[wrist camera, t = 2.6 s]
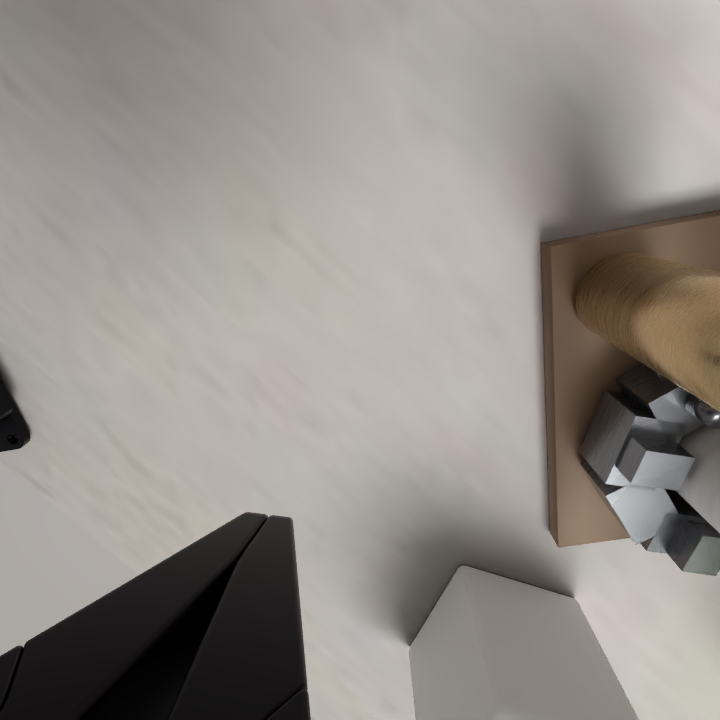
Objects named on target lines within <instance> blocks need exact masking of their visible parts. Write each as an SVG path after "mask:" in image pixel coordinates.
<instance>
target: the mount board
mask: <svg viewBox="0 0 720 720" xmlns="http://www.w3.org/2000/svg"><path fill="white" fill-rule="evenodd" d="M620 252H637V253H641V254H645V255H650V256H654V257H658V258H662V259H667V260H671V261H675V262H679V263H683V264H688V265H692V266H696V267H700V268H705V269H709V270H713V271H717V272H720V210H718V211H713V212H708V213H702V214H697V215H691V216H686V217H680V218H675V219H670V220H664V221H659V222H653V223H648V224H643V225H637V226H632V227H626V228H621V229H615V230H610V231H605V232H599V233H594V234H588V235H583V236H577V237H572V238H567V239H561V240H556V241H550V242H545V243H541V267H542V298H543V329H544V360H545V391H546V422H547V452H548V483H549V514H550V533H551V535H552V537H553V539H554V540H555V542H556V544H557V546H558V547H566V546H573V545H580V544H588V543H595V542H603V541H610V540H617V539H625V538H630V536H629V535H628V534H627V533H626V531H625V530H624V529H623V527H622V526H621V525H620V523H619V522H618V521H617V519H616V518H615V517H614V516H613V514H612V513H611V512H610V510H609V509H608V508H607V506H606V504H605V503H604V501H603V500H602V498H601V496H600V495H599V493H598V492H597V490H596V488H595V487H594V485H593V484H592V482H591V480H590V479H589V477H588V476H587V474H586V473H585V471H584V469H583V468H582V466H581V465H580V463H581V462H582V461H584V460H585V458H584V457H583V456H582V455H581V454H580V452H579V450H580V448H581V445H582V443H583V441H584V438H585V436H586V433H587V431H588V429H589V426H590V424H591V421H592V419H593V416H594V414H595V412H596V409H597V407H598V404H599V402H600V399H601V397H602V395H603V392H604V390H610V391H616V392H622V390H621V388H620V387H619V385H618V383H617V381H616V379H615V378H617V377H618V376H620V375H622V374H624V373H625V372H627V371H629V370H631V369H633V368H634V367H636V366H638V365H640V364H641V362H640V361H638V360H636V359H635V358H633V357H632V356H630V355H628V354H627V353H625V352H624V351H622V350H620V349H619V348H617V347H616V346H614V345H612V344H611V343H609V342H608V341H606V340H604V339H603V338H601V337H600V336H598V335H597V334H595V333H593V332H592V331H590V330H589V329H587V328H586V327H585V326H584V325H583V324H582V322H581V321H580V319H579V317H578V315H577V311H576V305H575V303H576V293H577V290H578V287H579V285H580V282H581V281H582V279H583V277H584V276H585V275H586V273H587V272H588V271H589V270H590V269H591V268H592V267H593V266H594V265H595V264H596V263H598V262H599V261H600V260H602V259H604V258H606V257H608V256H610V255H612V254H616V253H620ZM622 393H623V392H622ZM679 445H680V446H681V447H683V448H684V449H685V450H686V451H688V452H689V453H690V454H691V455H692V456H694V457H695V458H696V459H695V461H694V462H693V464H692V466H691V468H690V470H689V472H688V474H687V476H686V477H685V479H684V481H683V483H682V485H681V487H680V489H679V491H677V490H675V491H676V492H677V493H678V494H680V495H681V496H682V497H683V498H684V499H685V500H686V501H687V502H688V503H689V504H690V505H691V506H692V507H693V508H694V509H695V510H696V511H697V512H698V513H699V514H700V515H701V516H702V517H703V518H704V519H705V520H706V521H707V522H708V523H709V524H711V525H712V526H713V527H714V528H715V529H716V530H717V531H718V532H719V533H720V429H713V428H710V427H709V426H707V425H706V424H705V425H703V426H701V427H699V428H697V429H695V430H693V431H691V432H690V433H688V434H686V435H684V436H682V438H681V440H680V442H679Z"/></svg>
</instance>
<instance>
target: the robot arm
mask: <svg viewBox="0 0 720 720" xmlns="http://www.w3.org/2000/svg"><path fill="white" fill-rule="evenodd" d="M15 436H16V437H17V438H18V439H17V438H16V437H15ZM29 441H30V433H29V431H28V430H27V428H26V426H25V424H24V422H23V420H22V418H21V416H20V415H19V413H18V411H17V409H16V407H15V405H14V403H13V401H12V400H11V398H10V396H9V394H8V392H7V390H6V388H5V386H4V385H3V383H2V381H1V379H0V452H2V451H8V450H14V449H19V448H22V447H23V446H24V445H25V444H27V443H28V442H29ZM0 720H311V718H310V706H309V695H308V692H307V677H306V666H305V654H304V643H303V632H302V620H301V609H300V597H299V586H298V575H297V563H296V552H295V540H294V529H293V520H292V519H291V518H290V517H283V516H275V515H272V516H269V517H268V516H267V515H265V514H259V513H251V512H246V513H244V514H242V515H240V516H238V517H236V518H235V519H233V520H231V521H230V522H228V523H226V524H225V525H223V526H221V527H220V528H218V529H216V530H215V531H213V532H211V533H209V534H208V535H206V536H204V537H203V538H201V539H199V540H198V541H196V542H194V543H193V544H191V545H189V546H187V547H186V548H184V549H182V550H181V551H179V552H177V553H176V554H174V555H172V556H171V557H169V558H167V559H165V560H164V561H162V562H160V563H159V564H157V565H155V566H154V567H152V568H150V569H149V570H147V571H145V572H144V573H142V574H140V575H138V576H137V577H135V578H133V579H132V580H130V581H128V582H127V583H125V584H123V585H122V586H120V587H118V588H117V589H115V590H113V591H111V592H110V593H108V594H106V595H105V596H103V597H101V598H100V599H98V600H96V601H95V602H93V603H91V604H89V605H88V606H86V607H85V608H83V609H81V610H79V611H78V612H76V613H74V614H73V615H71V616H69V617H67V618H66V619H64V620H62V621H61V622H59V623H57V624H56V625H54V626H52V627H51V628H49V629H48V630H46V631H44V632H42V633H40V634H39V635H37V636H35V637H34V638H32V639H30V640H29V641H27V642H26V644H25V646H24V648H23V647H22V646H17V647H15V648H13V649H11V650H10V651H8V652H7V653H5V654H3V655H1V656H0Z"/></svg>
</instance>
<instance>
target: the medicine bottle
mask: <svg viewBox="0 0 720 720" xmlns="http://www.w3.org/2000/svg"><path fill="white" fill-rule="evenodd" d="M409 657H410V667H411V677H412V687H413V697H414V707H415V717H416V720H639V719H638V717H637V715H636V713H635V711H634V709H633V707H632V706H631V704H630V702H629V700H628V698H627V696H626V694H625V692H624V690H623V688H622V686H621V684H620V682H619V680H618V679H617V677H616V675H615V673H614V671H613V669H612V667H611V665H610V663H609V661H608V659H607V657H606V655H605V653H604V652H603V650H602V648H601V646H600V644H599V642H598V640H597V638H596V636H595V634H594V632H593V630H592V628H591V627H590V625H589V623H588V621H587V619H586V617H585V615H584V613H583V611H582V609H581V607H580V605H579V603H578V602H577V601H576V600H575V599H574V598H571V597H568V596H565V595H561V594H558V593H555V592H551V591H548V590H545V589H541V588H538V587H535V586H531V585H528V584H525V583H521V582H518V581H515V580H512V579H508V578H505V577H502V576H498V575H495V574H492V573H488V572H485V571H482V570H478V569H475V568H472V567H468V566H460V567H459V568H458V569H457V571H456V573H455V574H454V576H453V577H452V579H451V581H450V582H449V584H448V586H447V587H446V589H445V591H444V592H443V594H442V595H441V597H440V599H439V600H438V602H437V604H436V605H435V607H434V608H433V610H432V612H431V613H430V615H429V617H428V618H427V620H426V621H425V623H424V625H423V626H422V628H421V630H420V631H419V633H418V635H417V636H416V638H415V639H414V641H413V643H412V644H411V646H410V649H409Z"/></svg>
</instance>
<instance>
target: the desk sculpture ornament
mask: <svg viewBox="0 0 720 720" xmlns="http://www.w3.org/2000/svg"><path fill="white" fill-rule="evenodd" d="M575 305H576V311H577V315H578V317H579V319H580V321H581V322H582V324H583V325H584V326H585V327H586V328H587V329H589V330H590V331H592V332H593V333H595V334H597V335H598V336H600V337H601V338H603V339H604V340H606V341H608V342H609V343H611V344H612V345H614V346H616V347H617V348H619V349H620V350H622V351H624V352H625V353H627V354H628V355H630V356H632V357H633V358H635V359H636V360H638V361H640V362H641V364H640V365H638V366H636V367H634V368H633V369H631V370H629V371H627V372H625V373H624V374H622V375H620V376H618V377H617V378H615V379H616V381H617V383H618V385H619V387H620V388H621V390H622V392H623V393H622V392H616V391H610V390H604V392H603V395H602V397H601V399H600V402H599V404H598V407H597V409H596V412H595V414H594V416H593V419H592V421H591V424H590V426H589V429H588V431H587V433H586V436H585V438H584V441H583V443H582V445H581V448H580V450H579V452H580V454H581V455H582V456H583V457H584V458H585V460H584V461H582V462H581V463H580V465H581V466H582V468H583V469H584V471H585V473H586V474H587V476H588V477H589V479H590V480H591V482H592V484H593V485H594V487H595V488H596V490H597V492H598V493H599V495H600V496H601V498H602V500H603V501H604V503H605V504H606V506H607V508H608V509H609V510H610V512H611V513H612V514H613V516H614V517H615V518H616V519H617V521H618V522H619V523H620V525H621V526H622V527H623V529H624V530H625V531H626V533H627V534H628V535H629V536H630V538H631V539H632V540H633V542H634V543H635V544H636V545H637V544H639V543H641V544H642V546H643V547H644V548H645V550H646V551H652V552H659V553H666V554H668V555H669V556H670V557H671V558H672V560H673V561H674V562H675V563H676V564H677V566H678V567H679V568H680V569H681V570H682V571H684V572H691V573H699V574H706V575H713V576H716V575H717V573H718V572H719V570H720V533H719V532H718V531H717V530H716V529H715V528H714V527H713V526H712V525H711V524H709V523H708V522H707V521H706V520H705V519H704V518H703V517H702V516H701V515H700V514H699V513H698V512H697V511H696V510H695V509H694V508H693V507H692V506H691V505H690V504H689V503H688V502H687V501H686V500H685V499H684V498H683V497H682V496H681V495H680V494H678V493H677V492H676V491H675V490H677V491H679V489H680V487H681V485H682V483H683V481H684V479H685V477H686V476H687V474H688V472H689V470H690V468H691V466H692V464H693V462H694V461H695V459H696V458H695V457H694V456H692V455H691V454H690V453H689V452H688V451H686V450H685V449H684V448H683V447H681V446H680V445H679V442H680V440H681V438H682V436H684V435H686V434H688V433H690V432H691V431H693V430H695V429H697V428H699V427H701V426H703V425H705V424H706V425H707V426H709V427H710V428H713V429H720V272H717V271H713V270H709V269H705V268H700V267H696V266H692V265H688V264H683V263H679V262H675V261H671V260H667V259H662V258H658V257H654V256H650V255H645V254H641V253H637V252H620V253H616V254H612V255H610V256H608V257H606V258H604V259H602V260H600V261H599V262H598V263H596V264H595V265H594V266H593V267H592V268H591V269H590V270H589V271H588V272H587V273H586V275H585V276H584V277H583V279H582V281H581V282H580V285H579V287H578V290H577V293H576V303H575Z"/></svg>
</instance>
